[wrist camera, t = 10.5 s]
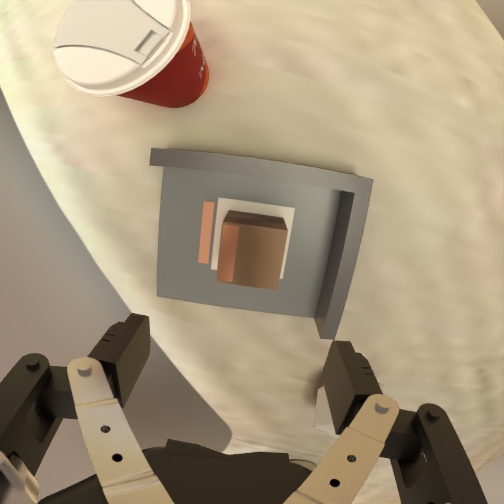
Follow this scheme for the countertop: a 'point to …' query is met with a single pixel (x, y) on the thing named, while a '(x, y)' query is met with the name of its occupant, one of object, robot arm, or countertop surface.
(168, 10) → the coffee cup
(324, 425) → the die
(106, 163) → the countertop surface
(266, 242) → the walnut block
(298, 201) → the board
